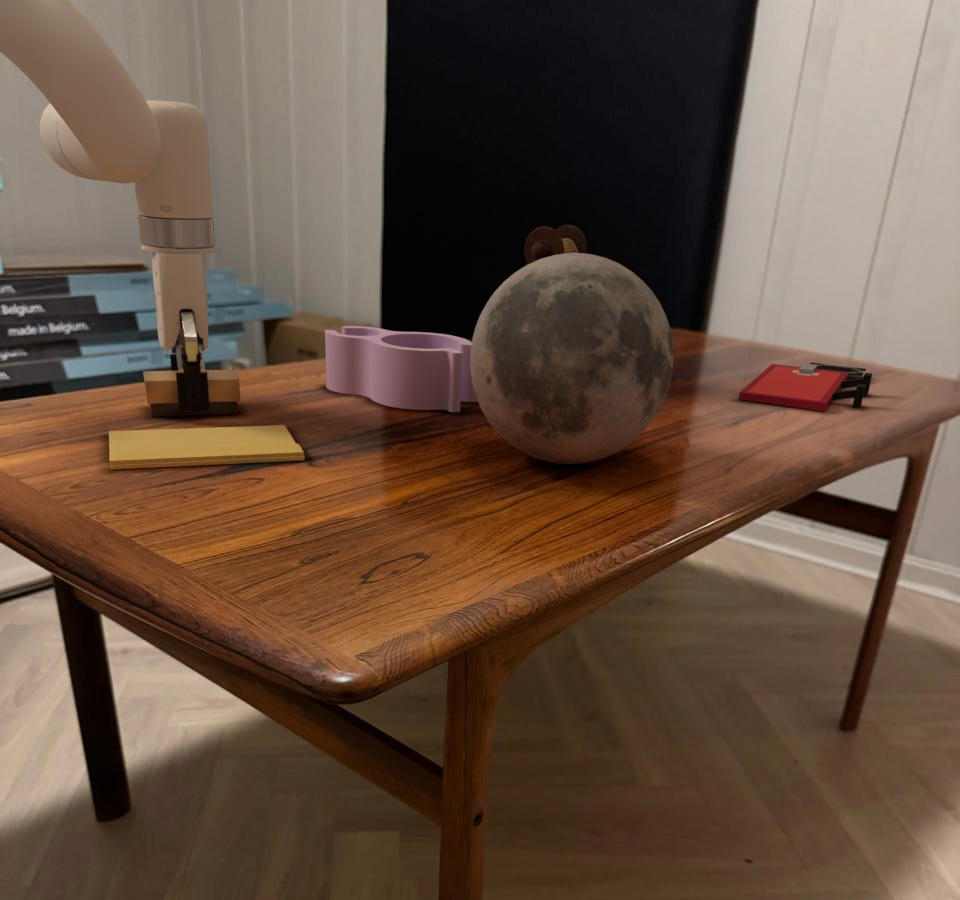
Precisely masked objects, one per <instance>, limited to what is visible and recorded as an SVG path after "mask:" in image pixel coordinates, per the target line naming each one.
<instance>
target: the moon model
mask: <svg viewBox="0 0 960 900" xmlns="http://www.w3.org/2000/svg"><path fill="white" fill-rule="evenodd" d="M671 330H672V329H671V326H670V323H669V321H668V318H667V314H666V312H665V310H664V309H663V306H662V305H661V302H660V300H658V298H657V296H656V295H655V293H654V292H653V290H652V289H650V287H649V286H648V285H647V284H646V282H645V281H643V280H642V279H641V277H639V276H638V275H636V274H635V272H633V271H632V270H630V269H629V268H627V267H625V266H624V265H622V264H620V263H619V262H617V261H614V260H612V259H609V258H607V257H605V256H604V257H603V256H600V255H595V254H592V253H586V254H584V253H566V254H558V255H553V256H549V257H546V258H542V259H539V260H537V261H535V262H533V263H530V264H528V263H527V264H526V265H525V266H522V267H521V268H520V269H518V270H517V271H515V272H514V273H513V274H511V275H510V276H509V277H508V278H506V279H505V280H504V281H503V282H502V284H500V285H499V287H498V288H496V290H495V291H494V292H493V294H492V295H491V296H490V298H489V299H488V300H487V302H486V303H485V305H484V307H483V309H482V311H481V313H480V314H479V317H478V320H477V322H476V325H475V327H474V331H473V336H472V340H471V343H472V345H471V354H470V371H471V377H472V384H473V388H474V391H475V395H476V398H477V400H478V402H477V403H478V405H479V408H480V410H481V412H482V413H483V415H484V417H485V418H486V420H487V421H488V423H489V425H491V427H492V428H493V429H494V431H496V433H497V434H498V435H499V436H500V437H501V438H503V440H505V441H506V442H507V444H509V445H510V446H512V447H514V448H515V449H516V450H518V451H519V452H521V453H523V454H525V455H527V456H530V457H532V458H534V459H537V460H540V461H544V462H548V463H552V464H559V465H577V464H586V463H591V462H595V461H598V460H601V459H604V458H607V457H610V456H611V455H613V454H615V453H618V452H619V451H621V450H623V449H624V448H625V447H627V446H630V445H631V443H633V442H634V441H635V440H637V439H638V437H640V436H641V435H642V434H643V433H644V432H645V430H646V429H647V428H648V427H649V426H650V425H651V423H652V422H653V421H654V419H655V418H656V416H657V415H658V414H659V412H660V409H661V408H662V406H663V404H664V401H665V400H666V397H667V395H668V391H669V389H670V385H671V381H672V375H673V371H674V357H675V355H674V341H673V335H672V331H671Z"/></svg>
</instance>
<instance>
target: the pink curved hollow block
mask: <svg viewBox="0 0 960 900" xmlns="http://www.w3.org/2000/svg"><path fill="white" fill-rule="evenodd" d="M324 336H325V337H324V338H325V339H324V340H325V341H324V342H325V343H324V344H325V345H324V347H325V348H324V349H325V387H326V389H327V390H329V391H331V392H334V393H339V394H345V395H356V396H361V397H366V398H368V399H371V401H372V402H375V403H377V404H380V405H382V406H387V407H391V408H397V409H404V410H415V411H439V410H442V411H443V410H444V411H448V412H450V413H460V412H461V402H464V403H478V400H477V398H476V395H475V391H474V388H473V384H472V377H471V371H470V354H471V345H472V341H470V340H468V339H466V338H464V337H460V336H455V335H451V334H446V333H439V332H438V333H436V332H425V331H423V332H422V331H396V330H389V329H384V328H381V327H373V326H361V325H344V326H343V325H342V326H341V333H340V332H337V330H336V329H325V330H324Z"/></svg>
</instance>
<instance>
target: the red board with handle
mask: <svg viewBox="0 0 960 900" xmlns="http://www.w3.org/2000/svg"><path fill="white" fill-rule="evenodd" d="M866 371H867V368H864V367H854V366H846V365H838V364H837V365H836V364H829V363H828V364H827V363H819V362H810V363H806V362H805V363H803V365H802V366H793V365H784V364H776V363H771V364H770V365H769V366H768V367H767V368H765V369H764V370H763V371H762V372H761V373H760V374H759V375H758V376H756V377H755V378H754V379H753V380H752V381H751V382H749V383H748V384H747V385H746V386H745V387H743V389H741V390H740V391H739V394H738V400H743V401H750V402H757V403H765V404H772V405H781V406H787V407H788V406H789V407H795V408H804V409H811V410H819V411H826V410H827V408H829V407H828V406H830V404H831V403H832V401H839V400H847V399H853V401H852V407H851V408H853V409H854V408H855V409H860V408H861V407H862V404H863V400H864V397H868V395H869V391H870V388H871V382H872V378H873V373H871V372H866ZM849 376H855V377H860V378H854V379H853V378H852V379H848V377H849ZM850 388H854V389H850ZM842 389H845V390H842ZM846 389H848V390H846Z"/></svg>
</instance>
